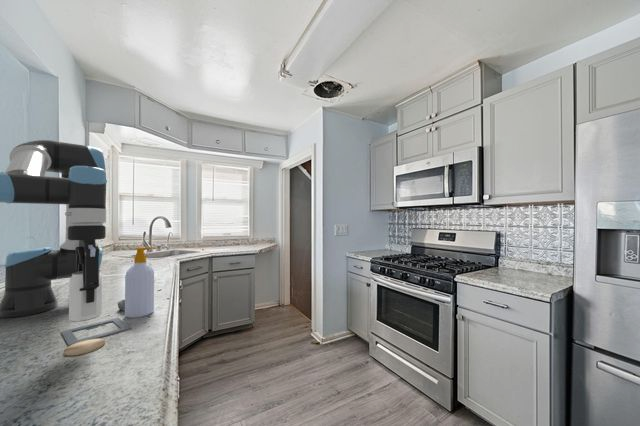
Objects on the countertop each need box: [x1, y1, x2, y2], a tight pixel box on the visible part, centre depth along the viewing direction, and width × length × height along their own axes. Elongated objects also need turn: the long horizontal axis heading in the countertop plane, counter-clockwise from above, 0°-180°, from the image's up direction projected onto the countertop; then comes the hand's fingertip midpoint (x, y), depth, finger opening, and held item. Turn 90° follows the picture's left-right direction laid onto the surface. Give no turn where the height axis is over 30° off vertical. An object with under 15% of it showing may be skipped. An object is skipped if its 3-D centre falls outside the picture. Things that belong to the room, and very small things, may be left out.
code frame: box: [60, 317, 133, 347], centre depth 79 cm, size 14×14×1 cm
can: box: [68, 269, 103, 323], centre depth 68 cm, size 6×6×12 cm
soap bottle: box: [124, 246, 157, 319], centre depth 94 cm, size 9×9×24 cm
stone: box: [117, 299, 125, 312], centre depth 100 cm, size 10×8×6 cm
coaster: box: [63, 338, 106, 357], centre depth 68 cm, size 8×8×1 cm
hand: (85, 312), depth 68 cm, fingers closed on can, 6 cm apart
